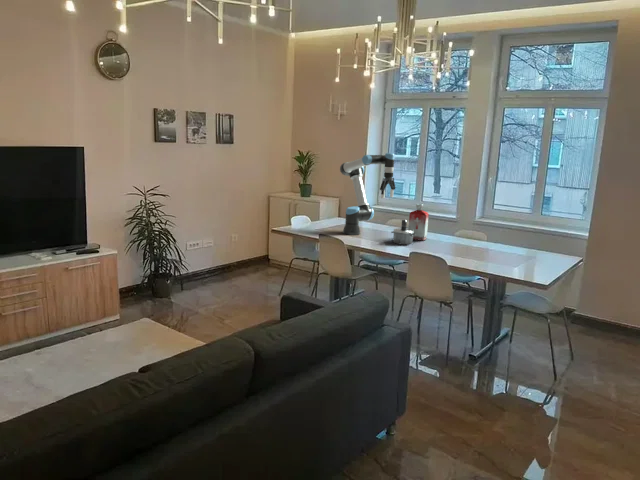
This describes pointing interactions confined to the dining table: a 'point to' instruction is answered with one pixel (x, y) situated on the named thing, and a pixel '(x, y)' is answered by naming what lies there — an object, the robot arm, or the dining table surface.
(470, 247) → the dining table surface
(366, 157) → the robot arm
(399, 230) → the lid
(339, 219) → the dining table surface
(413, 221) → the bottle
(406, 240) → the pot
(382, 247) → the dining table surface
